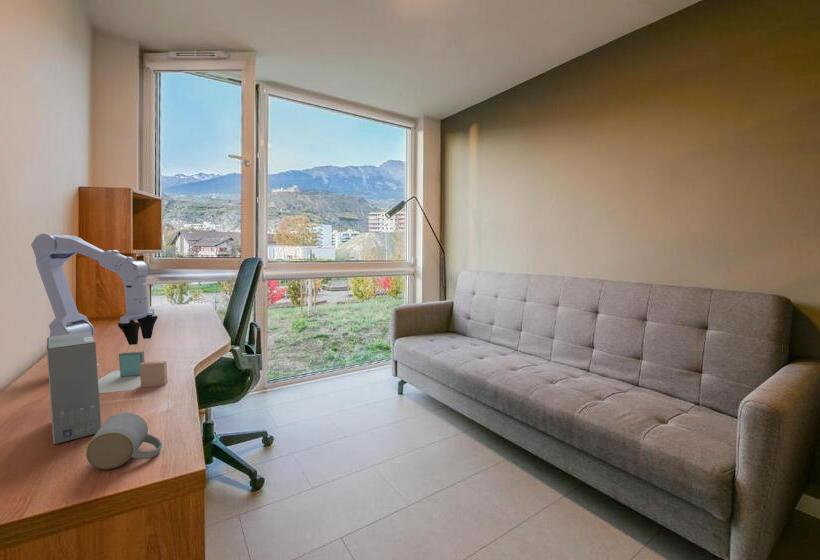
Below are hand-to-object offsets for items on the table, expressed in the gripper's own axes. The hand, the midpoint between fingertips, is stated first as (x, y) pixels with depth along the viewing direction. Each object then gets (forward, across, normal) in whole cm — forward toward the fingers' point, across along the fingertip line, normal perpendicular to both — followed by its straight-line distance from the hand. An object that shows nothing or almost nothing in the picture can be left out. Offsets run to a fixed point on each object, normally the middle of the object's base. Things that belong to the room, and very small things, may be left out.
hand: (140, 341), depth 118 cm
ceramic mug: (+11, -52, -26) cm, 59 cm away
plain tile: (+10, -14, -11) cm, 20 cm away
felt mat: (+10, -8, +1) cm, 13 cm away
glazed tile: (+10, -4, +1) cm, 11 cm away
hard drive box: (+10, -38, -7) cm, 40 cm away
